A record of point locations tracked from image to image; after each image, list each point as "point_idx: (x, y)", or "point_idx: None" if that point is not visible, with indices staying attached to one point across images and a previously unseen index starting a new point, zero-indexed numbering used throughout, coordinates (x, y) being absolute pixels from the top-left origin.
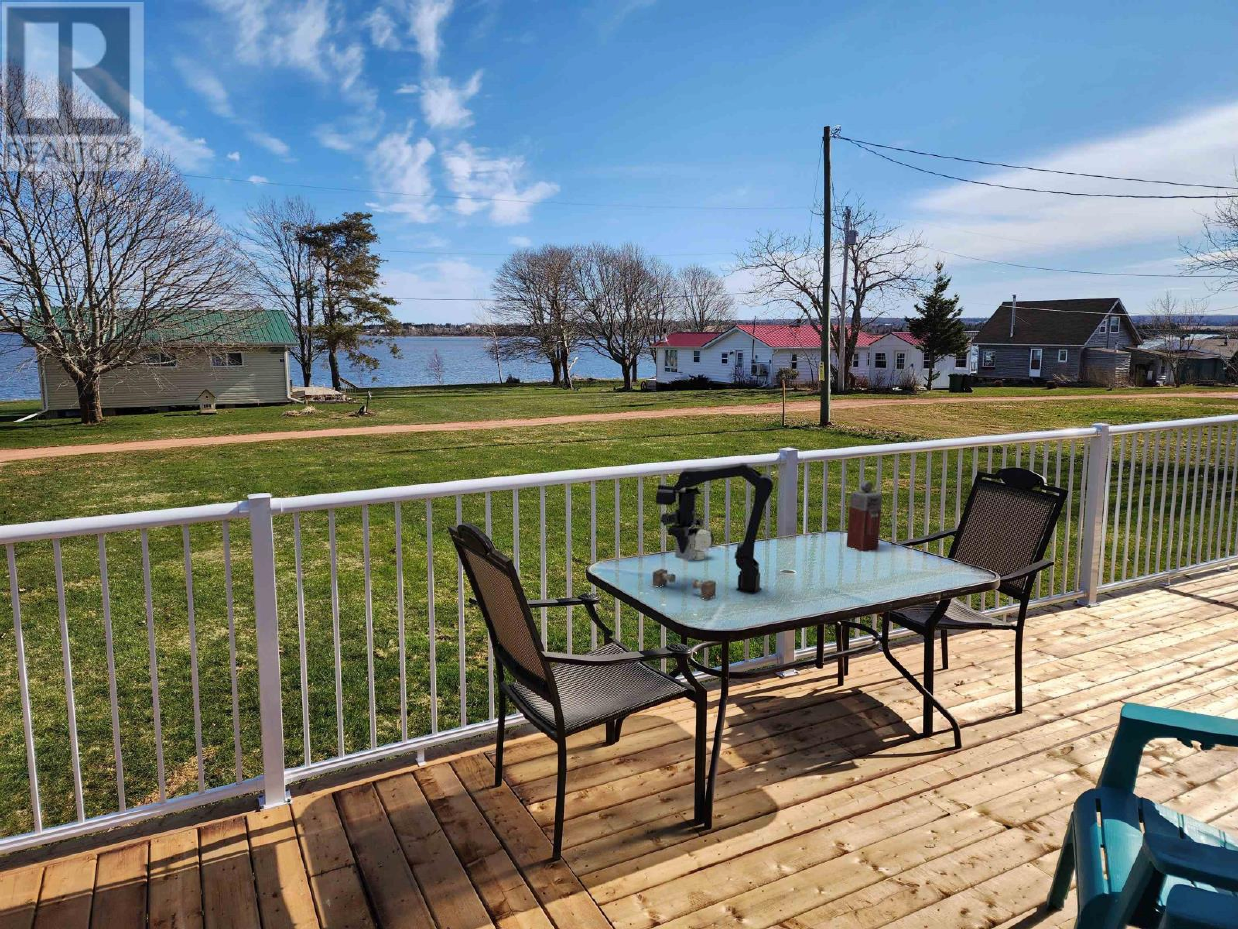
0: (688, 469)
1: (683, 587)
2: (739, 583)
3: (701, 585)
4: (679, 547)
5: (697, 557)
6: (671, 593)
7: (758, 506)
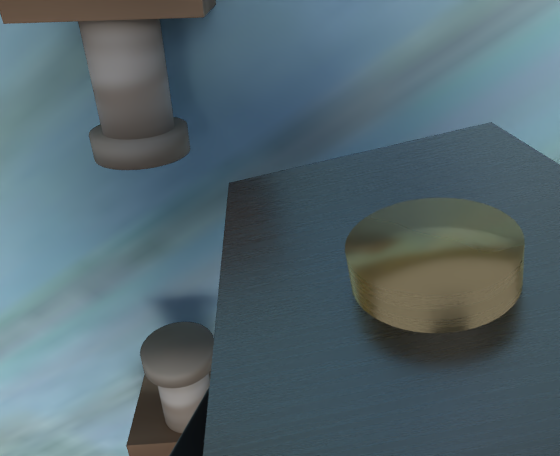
0: None
1: (256, 163)
2: None
3: (129, 435)
4: (181, 440)
5: None
6: (63, 180)
7: None
